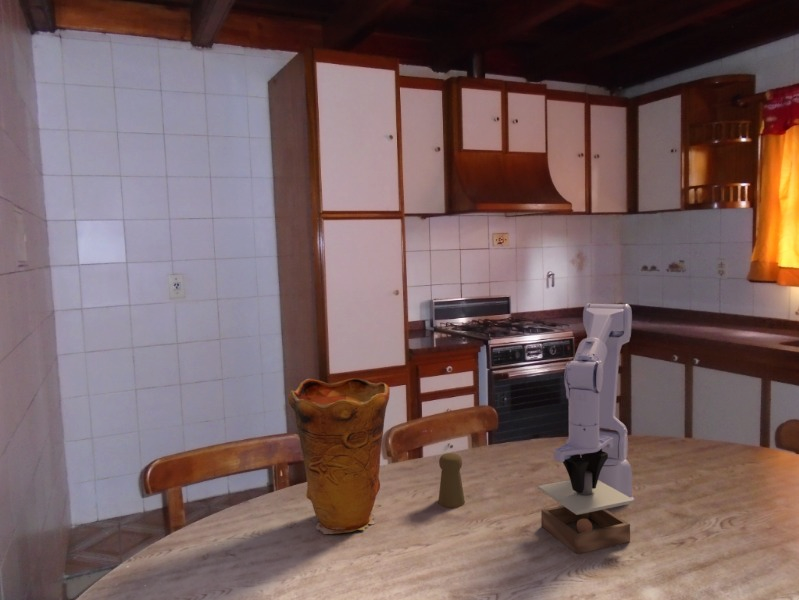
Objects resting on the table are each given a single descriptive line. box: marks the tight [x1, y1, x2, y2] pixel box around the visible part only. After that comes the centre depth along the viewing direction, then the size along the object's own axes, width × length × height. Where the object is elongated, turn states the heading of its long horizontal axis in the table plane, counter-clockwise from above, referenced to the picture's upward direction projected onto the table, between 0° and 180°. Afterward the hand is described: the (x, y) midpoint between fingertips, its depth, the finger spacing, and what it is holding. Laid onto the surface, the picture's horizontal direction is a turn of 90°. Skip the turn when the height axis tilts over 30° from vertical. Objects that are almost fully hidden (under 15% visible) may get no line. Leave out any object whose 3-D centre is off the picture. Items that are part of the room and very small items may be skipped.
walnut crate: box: [540, 505, 631, 555], centre depth 118 cm, size 12×12×4 cm
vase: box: [288, 377, 391, 535], centre depth 124 cm, size 21×20×30 cm
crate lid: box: [537, 471, 635, 515], centre depth 117 cm, size 13×13×5 cm
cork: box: [438, 452, 466, 509], centre depth 134 cm, size 6×6×11 cm
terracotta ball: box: [576, 518, 593, 533], centre depth 118 cm, size 3×3×3 cm
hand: (584, 489), depth 117 cm, fingers closed on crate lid, 3 cm apart
